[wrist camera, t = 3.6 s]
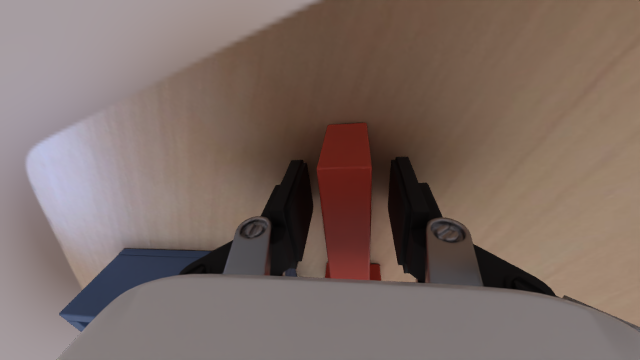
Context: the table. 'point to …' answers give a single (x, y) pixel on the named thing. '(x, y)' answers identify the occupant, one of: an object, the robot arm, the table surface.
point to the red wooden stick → (347, 201)
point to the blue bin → (128, 279)
